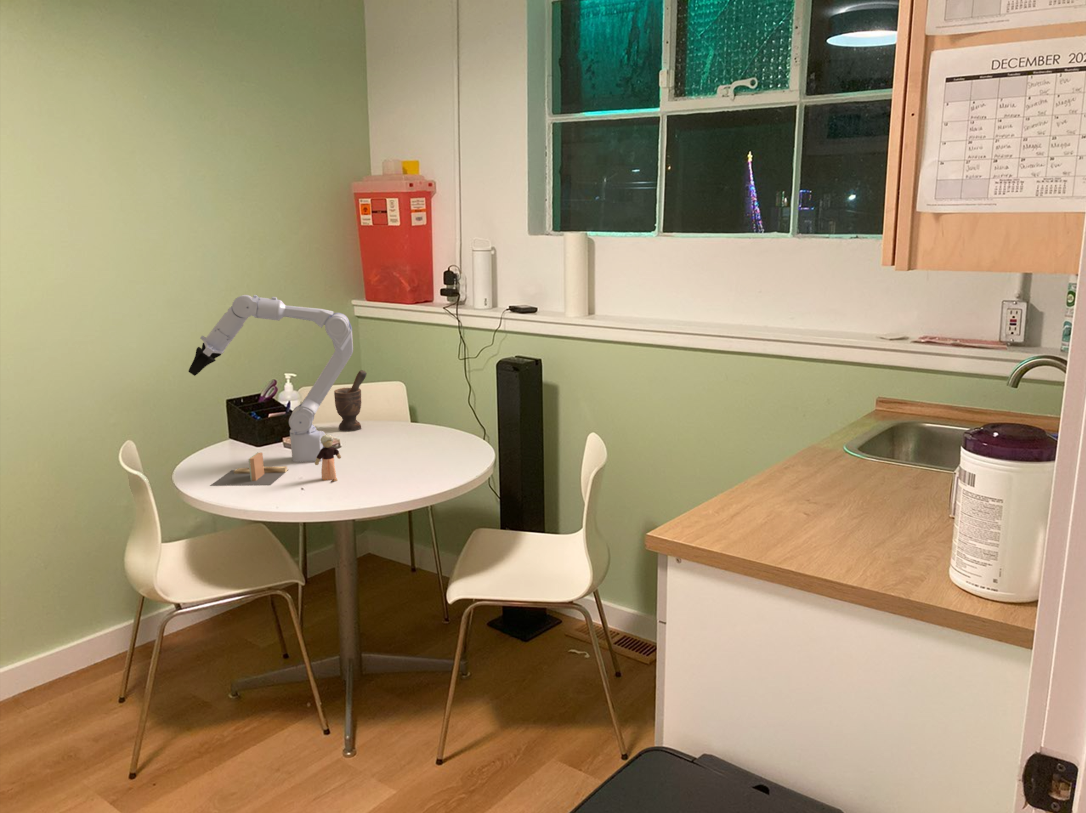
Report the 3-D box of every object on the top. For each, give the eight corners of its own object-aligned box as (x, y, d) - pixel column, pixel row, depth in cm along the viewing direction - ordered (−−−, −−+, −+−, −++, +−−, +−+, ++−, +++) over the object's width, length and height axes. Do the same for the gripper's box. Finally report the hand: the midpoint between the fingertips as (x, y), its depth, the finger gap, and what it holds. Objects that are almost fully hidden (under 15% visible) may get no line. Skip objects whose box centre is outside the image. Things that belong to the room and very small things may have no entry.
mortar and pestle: (375, 425, 289) (371, 366, 285) (368, 432, 281) (364, 371, 276) (341, 426, 290) (336, 367, 286) (333, 432, 282) (328, 371, 277)
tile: (264, 474, 234) (262, 452, 233) (256, 480, 228) (253, 458, 227) (259, 474, 234) (257, 452, 233) (250, 480, 228) (248, 458, 227)
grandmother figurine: (325, 485, 225) (321, 438, 222) (314, 483, 227) (310, 436, 224) (346, 478, 231) (342, 431, 229) (335, 476, 234) (332, 430, 231)
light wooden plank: (288, 469, 238) (288, 465, 237) (284, 473, 235) (284, 468, 234) (238, 470, 238) (237, 466, 238) (234, 473, 235) (233, 469, 235)
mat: (289, 472, 238) (288, 469, 238) (270, 488, 224) (270, 485, 224) (232, 472, 239) (231, 470, 239) (210, 488, 225) (209, 485, 225)
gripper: (215, 319, 243) (186, 357, 244) (207, 326, 229) (176, 366, 230) (237, 335, 245) (208, 372, 246) (230, 342, 231) (199, 382, 232)
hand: (194, 371), depth 238 cm, fingers open, 7 cm apart
